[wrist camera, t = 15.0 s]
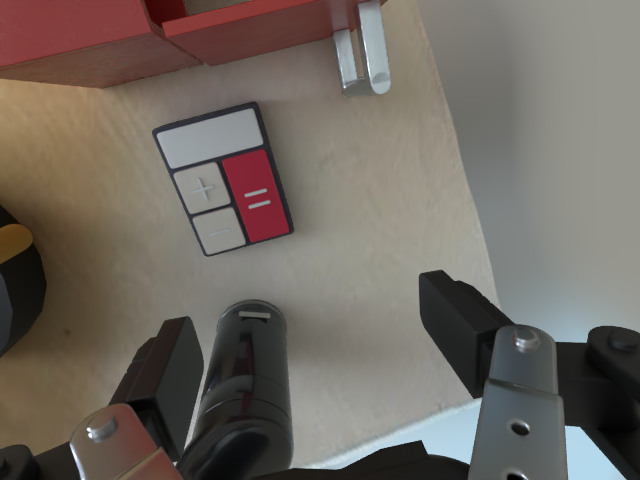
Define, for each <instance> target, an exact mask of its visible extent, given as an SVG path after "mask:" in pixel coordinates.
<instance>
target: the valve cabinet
mask: <svg viewBox="0 0 640 480" xmlns="http://www.w3.org/2000/svg"><path fill="white" fill-rule="evenodd" d="M184 17H188V12H187V9H186V6H185V3H184V0H0V79H10V80H20V81H30V82H40V83H50V84H60V85H70V86H80V87H91V88H105V87H109V86H113V85H117V84H122V83H126V82H130V81H134V80H139V79H143V78H147V77H151V76H156V75H160V74H164V73H168V72H173V71H177V70H181V69H185V68H190V67H194V66H198V65H202V64H204V63H203V61H202V60H200V59H199V58H197V57H196V56H194V55H193V54H191V53H190V52H188V51H187V50H185V49H184V48H182V47H181V46H179V45H177V44H176V43H174V42H173V41H171V40H170V39H168V38H167V37H166V35H165V32H164V29H163V26H162V23H163V22H167V21H171V20H175V19H179V18H184Z"/></svg>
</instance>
